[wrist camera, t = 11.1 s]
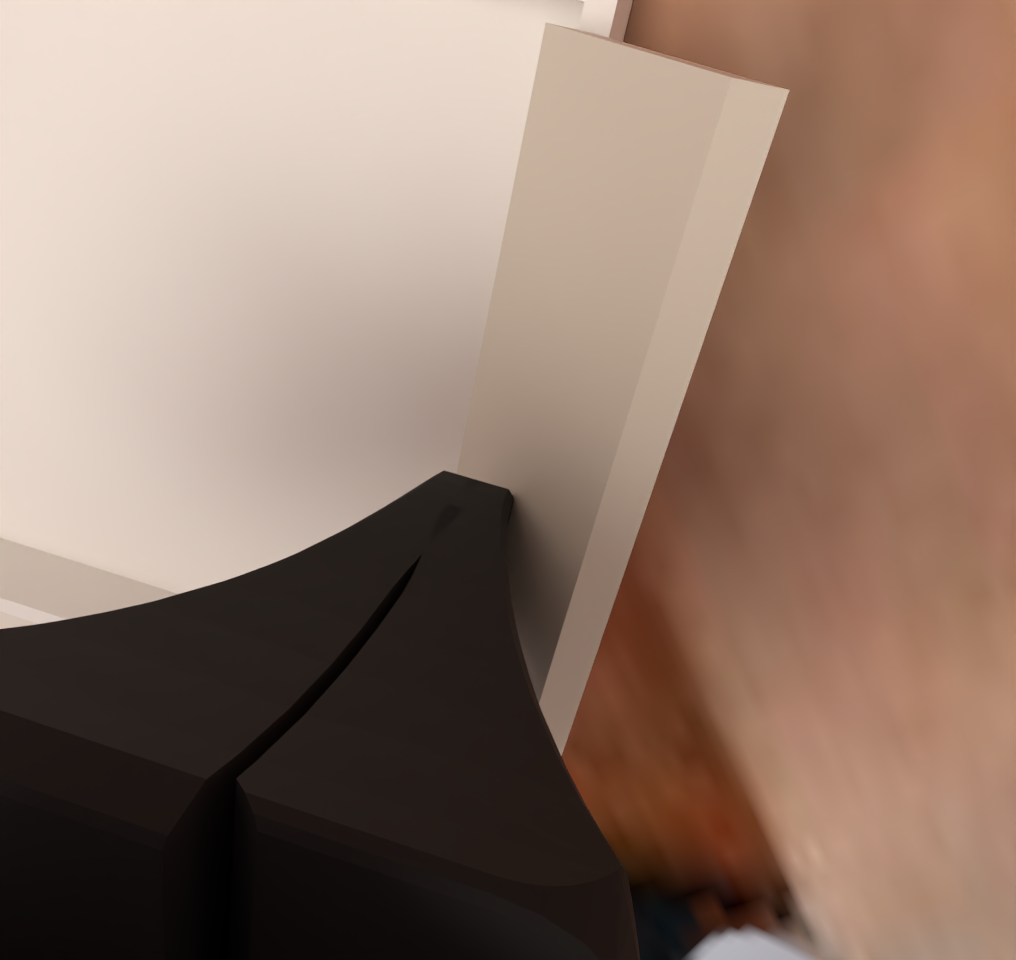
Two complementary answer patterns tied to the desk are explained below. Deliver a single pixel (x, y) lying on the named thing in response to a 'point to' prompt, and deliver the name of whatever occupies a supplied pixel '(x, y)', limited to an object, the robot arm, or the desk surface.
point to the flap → (603, 320)
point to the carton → (241, 273)
